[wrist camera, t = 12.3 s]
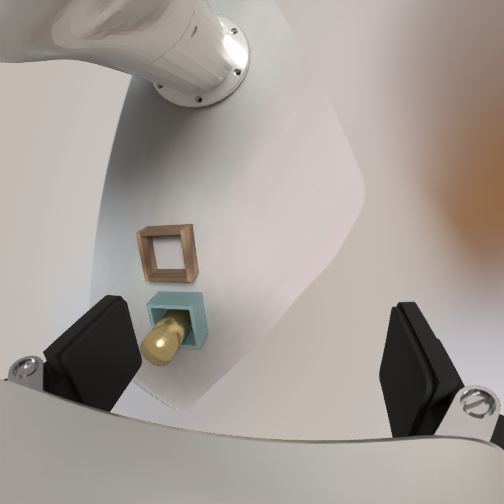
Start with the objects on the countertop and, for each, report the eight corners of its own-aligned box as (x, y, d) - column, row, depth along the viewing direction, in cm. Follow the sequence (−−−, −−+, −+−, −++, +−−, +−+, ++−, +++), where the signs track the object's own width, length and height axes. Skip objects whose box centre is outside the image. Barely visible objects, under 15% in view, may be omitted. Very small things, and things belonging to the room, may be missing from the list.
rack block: (158, 291, 44) (146, 304, 40) (201, 292, 42) (192, 306, 39) (167, 330, 46) (156, 345, 42) (208, 333, 44) (200, 349, 41)
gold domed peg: (168, 299, 44) (137, 337, 34) (194, 300, 43) (167, 340, 34) (173, 323, 45) (145, 363, 36) (198, 325, 44) (174, 367, 35)
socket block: (146, 226, 41) (136, 232, 38) (192, 224, 39) (184, 230, 37) (154, 272, 43) (145, 281, 40) (198, 272, 41) (191, 281, 39)
